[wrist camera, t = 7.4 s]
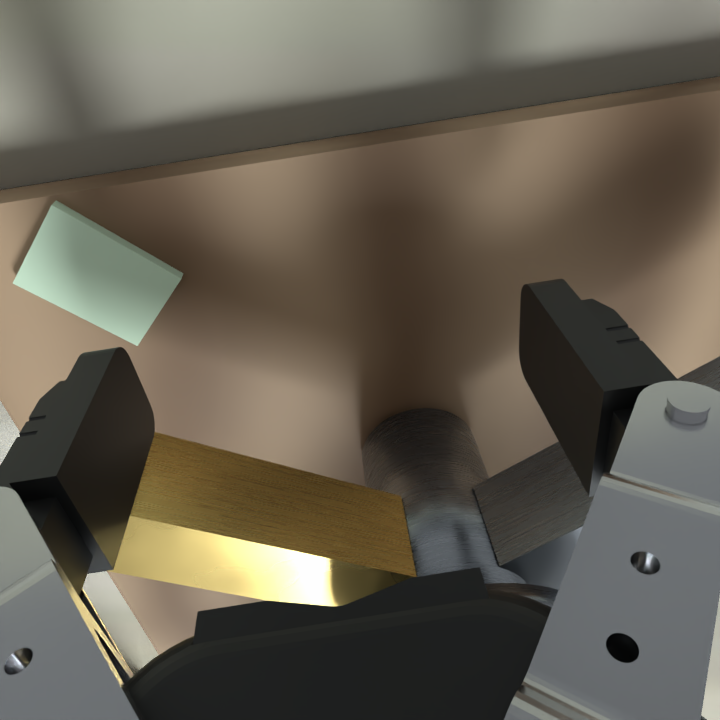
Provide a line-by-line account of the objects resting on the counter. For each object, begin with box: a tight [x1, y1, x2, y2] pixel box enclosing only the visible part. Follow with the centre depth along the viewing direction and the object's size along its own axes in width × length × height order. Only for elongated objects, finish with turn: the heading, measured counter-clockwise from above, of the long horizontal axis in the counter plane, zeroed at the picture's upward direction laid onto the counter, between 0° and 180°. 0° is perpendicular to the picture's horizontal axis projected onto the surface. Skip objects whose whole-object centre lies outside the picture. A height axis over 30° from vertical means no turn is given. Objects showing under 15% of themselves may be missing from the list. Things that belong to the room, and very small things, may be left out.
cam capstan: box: [108, 356, 720, 608], centre depth 15 cm, size 16×14×7 cm
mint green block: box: [13, 200, 183, 346], centre depth 14 cm, size 3×2×1 cm
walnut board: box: [0, 77, 720, 655], centre depth 21 cm, size 21×24×1 cm
